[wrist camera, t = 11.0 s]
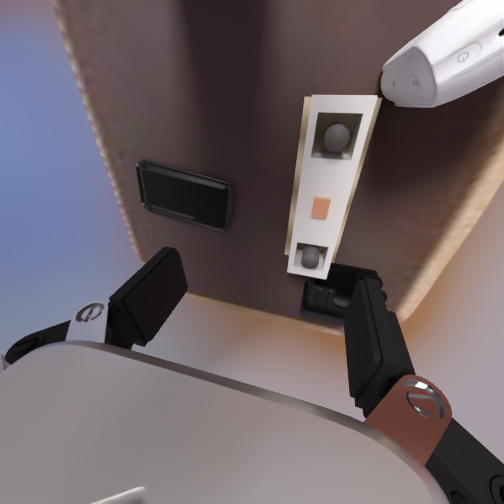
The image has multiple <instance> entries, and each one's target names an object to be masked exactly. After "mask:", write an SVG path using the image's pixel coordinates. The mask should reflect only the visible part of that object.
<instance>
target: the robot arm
mask: <svg viewBox="0 0 504 504" xmlns="http://www.w3.org/2000/svg"><path fill="white" fill-rule="evenodd" d="M187 289H188V285H187V281H186V277H185V273H184V270H183V266H182V262H181V258H180V254H179V252H178V251H177V250H176V248H171V247H163V248H162V249H161V250H160V251H159V252H158V253H157V254H156V255H155V256H154V257H152V258H151V259H150V260H149V261H148V262H147V263H146V264H145V265H144V266H143V267H142V268H141V269H140V270H138V271H137V273H135V274H134V275H133V276H132V277H131V278H130V279H129V280H128V281H127V282H126V283H124V285H122V286H121V287H120V288H119V289H118V290H117V291H116V292H115V293H114V294H113V295H112V296H111V297H110V298H109V300H110V302H109V303H108V304H107V303H106V302H105V301H102V300H97V301H92V302H89V303H87V304H85V305H83V306H81V307H80V308H79V309H78V310H77V311H76V312H75V313H74V314H73V316H72V318H71V320H69V321H67V322H64V323H61V324H58V325H56V326H52V327H50V328H47V329H44V330H41V331H38V332H35V333H32V334H30V335H28V336H25V337H24V338H22V339H20V340H19V341H18V342H16V343H15V344H14V345H13V346H12V347H11V348H10V349H9V350H8V352H7V353H6V355H5V356H3V355H2V354H1V355H0V504H504V464H503V463H502V462H501V461H500V460H498V458H496V457H495V456H494V455H493V454H492V453H491V452H490V451H489V450H488V449H486V448H485V447H484V446H483V445H482V444H481V443H480V442H479V441H478V440H477V439H475V438H474V437H473V436H472V435H471V434H470V433H469V432H468V431H466V430H465V429H464V428H463V427H462V426H461V425H460V424H459V423H458V422H456V420H454V419H453V418H452V410H451V406H450V404H449V402H448V400H447V398H446V397H445V396H444V394H443V393H442V392H441V390H439V389H438V388H437V387H436V386H435V385H434V384H433V383H431V382H430V381H428V380H427V379H425V378H422V377H420V376H417V375H416V374H415V371H414V368H413V365H412V362H411V359H410V356H409V353H408V350H407V347H406V343H405V340H404V337H403V335H402V331H401V328H400V325H399V322H398V319H397V316H396V314H395V313H394V312H391V311H387V308H386V304H385V301H384V297H383V294H382V291H381V287H380V284H379V281H378V280H377V279H371V278H363V279H362V280H358V282H357V284H356V287H355V290H354V292H353V295H352V298H351V301H350V303H349V306H348V309H347V312H346V314H345V317H344V332H345V344H346V356H347V368H348V380H349V391H350V396H351V397H353V398H355V406H356V407H359V408H362V409H363V415H364V417H365V418H366V420H365V421H364V422H361V421H359V420H357V419H354V418H352V417H350V416H347V415H344V414H342V413H339V412H336V411H333V410H331V409H328V408H324V407H321V406H318V405H315V404H312V403H309V402H306V401H302V400H299V399H296V398H293V397H290V396H286V395H283V394H280V393H276V392H273V391H269V390H266V389H263V388H259V387H256V386H253V385H249V384H246V383H242V382H239V381H236V380H232V379H229V378H225V377H221V376H219V375H215V374H212V373H208V372H205V371H202V370H198V369H195V368H191V367H188V366H184V365H181V364H177V363H174V362H170V361H167V360H163V359H160V358H156V357H153V356H149V355H146V354H142V353H139V352H135V351H132V346H133V344H134V343H135V344H136V345H139V346H143V347H145V346H146V344H147V343H148V341H151V340H152V339H153V338H154V336H155V335H156V334H157V332H158V331H159V329H160V328H161V326H162V325H163V324H164V322H165V321H166V320H167V318H168V317H169V315H170V314H171V313H172V311H173V310H174V308H175V307H176V306H177V304H178V303H179V301H180V300H181V298H182V297H183V296H184V294H185V293H186V291H187Z"/></svg>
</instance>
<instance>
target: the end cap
mask: <svg viewBox="0 0 504 504" xmlns="http://www.w3.org/2000/svg"><path fill="white" fill-rule="evenodd" d="M363 278H371V279H377V280H378V281H379V284H380V287H381V288H382V286H383V283H382V281H381V278H380V277H378V274H377V272H376V271H374V270H369V269H363V268H358V267H352V266H347V265H341V264H336V263H331V264H330V268H329V271H328V275H327V278H326V279H320V278H315V277H310V276H309V279H308V281H306V282H305V286H304V291H303V297H302V303H301V311H300V313H301V315H302V316H306V317H310V318H314V319H318V320H322V321H327V322H331V323H335V324H339V325H343V326H344V317H345V314H346V312H347V309H348V306H349V303H350V301H351V298H352V295H353V292H354V290H355V287H356V284H357V282H358V280H362V279H363ZM382 294H383V297H384V301H385V302H386V300H387V295H386V293H385V292H384V291H382Z"/></svg>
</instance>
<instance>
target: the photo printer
mask: <svg viewBox="0 0 504 504" xmlns="http://www.w3.org/2000/svg"><path fill="white" fill-rule="evenodd" d="M382 70H383V74H382V78H381V90H382V93H383V95H384V96H385V97H386V98H387V99H388V100H390V101H393V102H394V105H395V106H399V107H420V108H432V107H436V106H439V105H442V104H444V103H447V102H450V101H452V100H455V99H457V98H459V97H462V96H464V95H466V94H468V93H470V92H472V91H474V90H476V89H478V88H480V87H482V86H484V85H486V84H488V83H490V82H492V81H494V80H496V79H498V78H500V77H502V76H503V75H504V0H463V1H462V2H460V3H459V4H458V5H457V6H455V7H453V8H452V9H450V10H449V11H448V13H447V14H445V15H444V16H443V17H442V18H440V19H439V20H438V21H436V22H435V23H434V24H432V25H431V26H430V27H428V28H427V29H426V30H425V31H423V32H422V33H421V34H419V35H418V36H417V37H415V38H414V39H413V40H412V41H410V42H408V43H407V45H405V46H404V47H403V48H402V49H400V50H399V51H398V52H397V53H396V54H395V55H393V56H392V57H391V58H390V59H389V60H388V61H387V62H386V63H385V64H384V66H383V67H382Z"/></svg>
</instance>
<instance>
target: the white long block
mask: <svg viewBox="0 0 504 504" xmlns="http://www.w3.org/2000/svg"><path fill="white" fill-rule="evenodd" d="M377 97H378V95H312V99H311V106H310V113H309V120H308V127H307V134H306V141H305V148H304V155H303V163H302V170H301V177H300V184H299V191H298V198H297V205H296V212H295V219H294V227H293V234H292V241H291V248H290V255H289V262H288V269H287V272H289V273H294V274H299V275H305V276H310V277H315V278H320V279H326V278H327V275H328V271H329V268H330V264H331V261H332V257H333V253H334V250H335V246H336V243H337V239H338V236H339V232H340V229H341V225H342V221H343V218H344V214H345V211H346V207H347V204H348V200H349V196H350V193H351V189H352V186H353V182H354V179H355V175H356V172H357V168H358V164H359V161H360V157H361V154H362V150H363V147H364V143H365V139H366V136H367V132H368V129H369V125H370V122H371V118H372V115H373V111H374V107H375V104H376V100H377ZM319 112H325V113H357V117H356V121H355V125H354V130H353V134H352V138H351V142H350V146H349V150H348V153H340V152H325V151H313V147H314V141H315V135H316V128H317V122H318V116H319ZM298 242H299V243H305V244H312V245H318V246H324V251H323V254H321V253H319V264H318V266H317V267H316V268H313V269H308V268H305V267H304V266H303V265H302V263H301V260H302V254H303V250H297V246H298Z"/></svg>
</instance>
